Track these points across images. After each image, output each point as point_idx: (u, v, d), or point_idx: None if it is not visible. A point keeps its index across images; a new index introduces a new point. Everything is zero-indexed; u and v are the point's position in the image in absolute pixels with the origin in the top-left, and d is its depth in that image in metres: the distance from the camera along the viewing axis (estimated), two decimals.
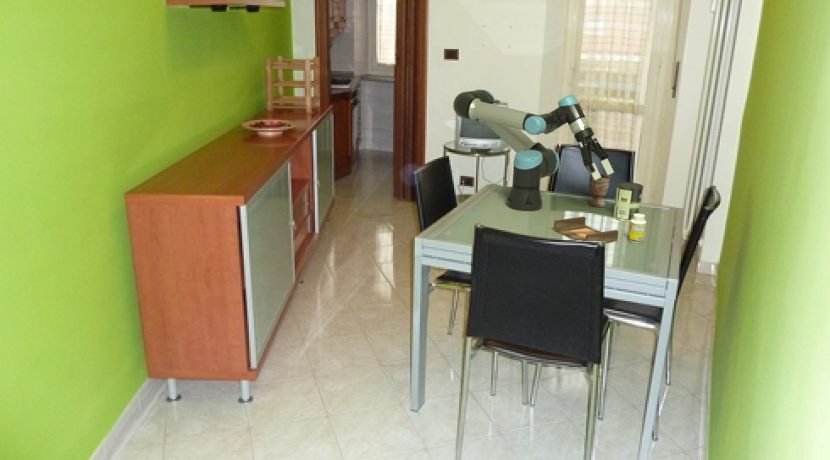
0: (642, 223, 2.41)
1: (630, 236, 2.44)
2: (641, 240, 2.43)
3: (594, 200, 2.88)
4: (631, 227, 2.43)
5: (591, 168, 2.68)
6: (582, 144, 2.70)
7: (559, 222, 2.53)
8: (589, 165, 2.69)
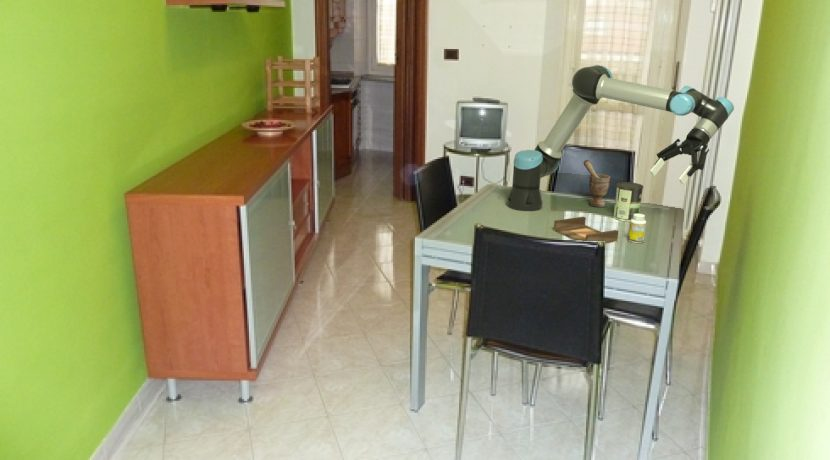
0: (642, 223, 2.41)
1: (630, 236, 2.44)
2: (641, 240, 2.43)
3: (594, 200, 2.88)
4: (631, 227, 2.43)
5: (692, 172, 2.36)
6: (707, 150, 2.38)
7: (559, 222, 2.53)
8: (695, 169, 2.36)
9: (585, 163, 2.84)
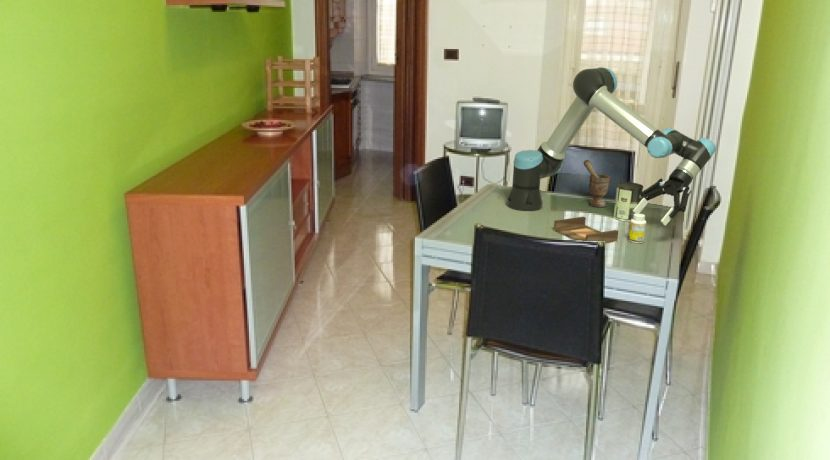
0: (642, 223, 2.41)
1: (630, 236, 2.44)
2: (641, 240, 2.43)
3: (594, 200, 2.88)
4: (631, 227, 2.43)
5: (674, 214, 2.37)
6: (689, 192, 2.39)
7: (559, 222, 2.53)
8: (677, 211, 2.37)
9: (585, 163, 2.84)
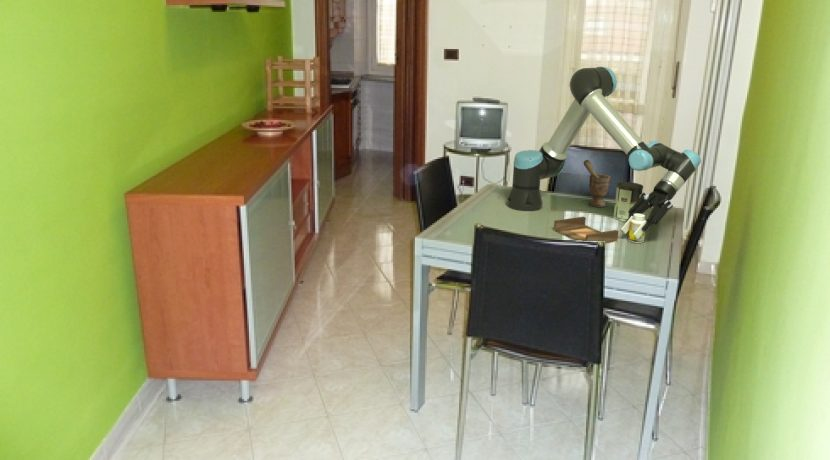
0: None
1: (630, 236, 2.44)
2: (641, 240, 2.43)
3: (594, 200, 2.88)
4: (631, 227, 2.43)
5: (647, 227, 2.39)
6: (670, 207, 2.39)
7: (559, 222, 2.53)
8: (649, 224, 2.39)
9: (585, 163, 2.84)
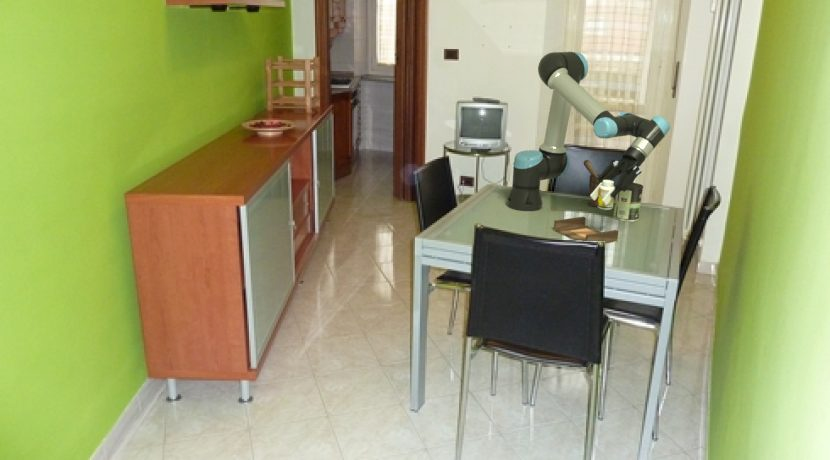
0: None
1: (599, 202, 2.43)
2: (610, 206, 2.42)
3: None
4: (600, 193, 2.42)
5: (615, 194, 2.38)
6: (638, 173, 2.38)
7: (559, 222, 2.53)
8: (618, 190, 2.38)
9: (585, 163, 2.84)
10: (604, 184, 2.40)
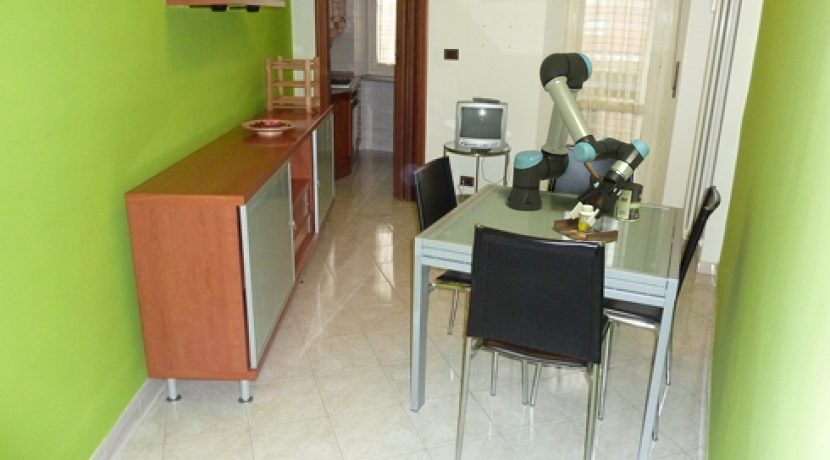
0: (590, 214, 2.45)
1: (579, 227, 2.48)
2: (590, 231, 2.47)
3: (594, 200, 2.88)
4: (580, 218, 2.47)
5: (600, 216, 2.42)
6: (619, 194, 2.43)
7: (559, 222, 2.53)
8: (602, 212, 2.42)
9: (585, 163, 2.84)
10: (584, 209, 2.46)
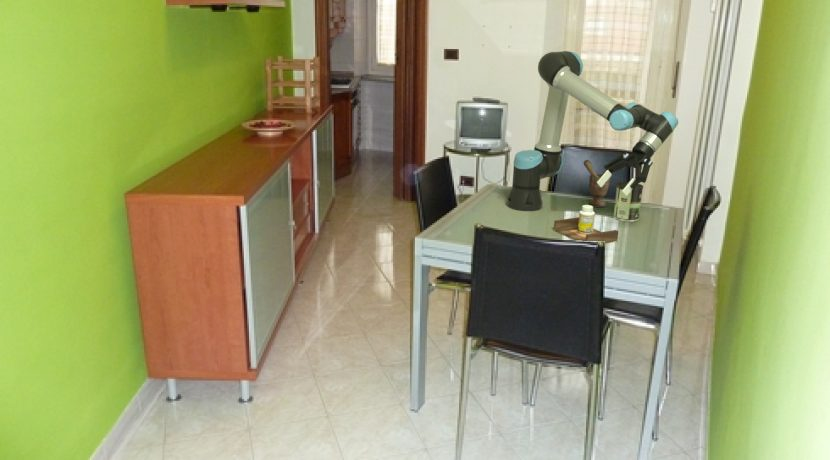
0: (590, 214, 2.45)
1: (579, 227, 2.48)
2: (590, 231, 2.47)
3: (594, 200, 2.88)
4: (580, 218, 2.47)
5: (635, 185, 2.43)
6: (650, 163, 2.45)
7: (559, 222, 2.53)
8: (637, 181, 2.43)
9: (585, 163, 2.84)
10: (584, 209, 2.46)
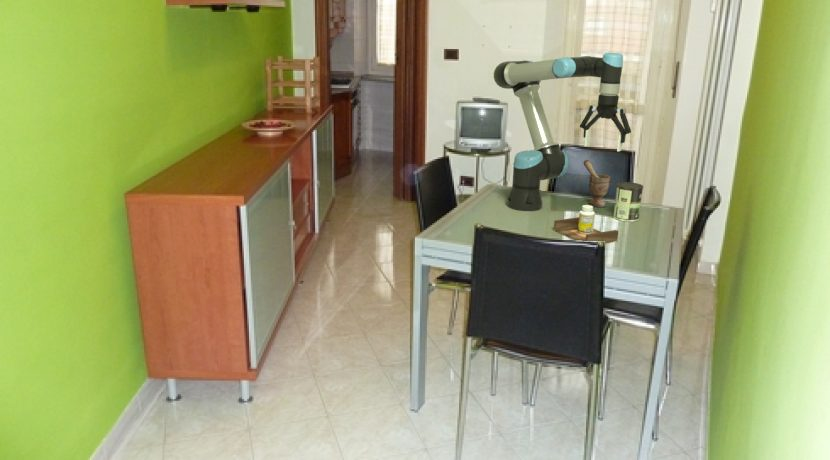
0: (590, 214, 2.45)
1: (579, 227, 2.48)
2: (590, 231, 2.47)
3: (594, 200, 2.88)
4: (580, 218, 2.47)
5: (624, 139, 2.58)
6: (624, 111, 2.55)
7: (559, 222, 2.53)
8: (625, 135, 2.57)
9: (585, 163, 2.84)
10: (584, 209, 2.46)
